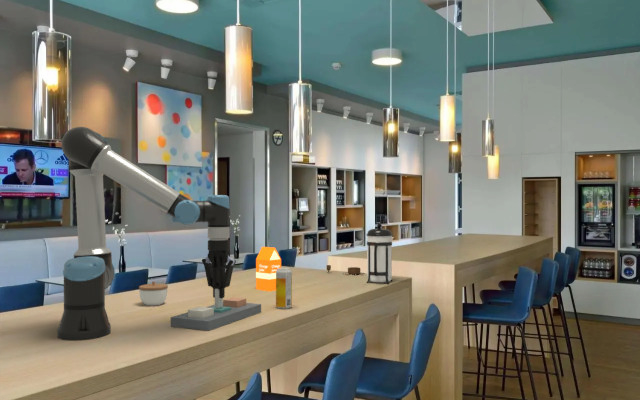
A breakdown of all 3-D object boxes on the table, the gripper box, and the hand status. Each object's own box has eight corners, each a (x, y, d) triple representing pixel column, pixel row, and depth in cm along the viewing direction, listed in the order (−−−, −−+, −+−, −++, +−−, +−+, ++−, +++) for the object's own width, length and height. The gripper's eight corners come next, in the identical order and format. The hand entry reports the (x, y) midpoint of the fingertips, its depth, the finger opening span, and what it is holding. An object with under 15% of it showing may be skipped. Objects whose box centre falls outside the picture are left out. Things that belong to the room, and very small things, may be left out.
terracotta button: (237, 309, 194) (237, 301, 194) (223, 308, 197) (223, 300, 197) (246, 306, 200) (246, 298, 200) (232, 305, 202) (232, 297, 202)
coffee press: (357, 282, 274) (357, 223, 274) (384, 280, 281) (384, 222, 281) (374, 287, 259) (374, 224, 259) (403, 285, 265) (403, 223, 266)
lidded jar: (138, 308, 208) (138, 284, 208) (139, 303, 218) (139, 280, 218) (167, 307, 211) (167, 282, 211) (167, 302, 221) (167, 279, 221)
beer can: (283, 305, 213) (283, 267, 213) (295, 307, 209) (295, 268, 210) (272, 308, 209) (272, 268, 209) (284, 310, 205) (284, 270, 205)
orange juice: (267, 288, 256) (267, 246, 256) (281, 290, 250) (281, 247, 250) (255, 290, 250) (255, 247, 250) (269, 292, 244) (269, 248, 244)
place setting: (351, 279, 291) (351, 268, 291) (324, 276, 305) (324, 265, 305) (372, 276, 304) (372, 265, 304) (344, 273, 317) (344, 262, 317)
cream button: (202, 320, 176) (202, 311, 176) (187, 319, 179) (187, 309, 179) (213, 317, 182) (213, 308, 182) (199, 315, 184) (199, 306, 184)
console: (208, 330, 172) (208, 321, 172) (170, 326, 178) (170, 317, 178) (261, 312, 201) (261, 304, 201) (227, 308, 207) (227, 301, 207)
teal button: (220, 319, 185) (220, 310, 185) (206, 317, 188) (206, 308, 188) (230, 315, 191) (230, 307, 191) (216, 314, 193) (216, 305, 193)
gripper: (240, 239, 190) (240, 306, 190) (209, 238, 195) (209, 304, 195) (228, 240, 183) (228, 310, 183) (196, 239, 189) (196, 307, 189)
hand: (218, 307), depth 189 cm, fingers closed
